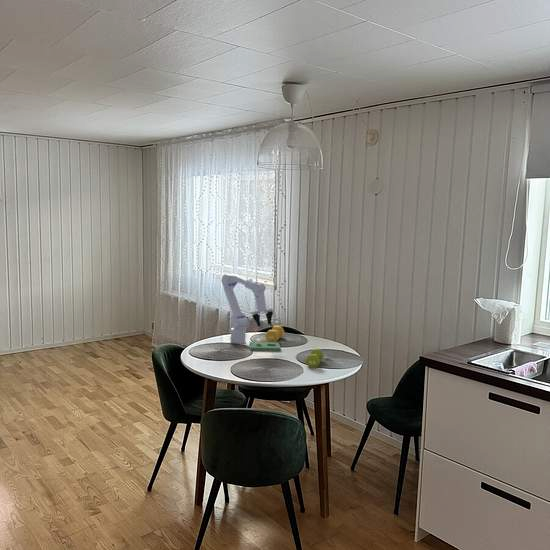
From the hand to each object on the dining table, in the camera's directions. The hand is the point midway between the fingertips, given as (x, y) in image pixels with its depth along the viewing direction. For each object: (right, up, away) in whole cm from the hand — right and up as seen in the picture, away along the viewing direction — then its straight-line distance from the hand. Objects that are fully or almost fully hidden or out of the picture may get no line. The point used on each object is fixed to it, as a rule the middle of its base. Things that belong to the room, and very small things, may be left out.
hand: (264, 325), depth 308 cm
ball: (-4, -10, +2) cm, 11 cm away
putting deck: (0, -14, +3) cm, 14 cm away
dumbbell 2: (+6, -12, +25) cm, 28 cm away
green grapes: (+28, -19, -27) cm, 43 cm away
